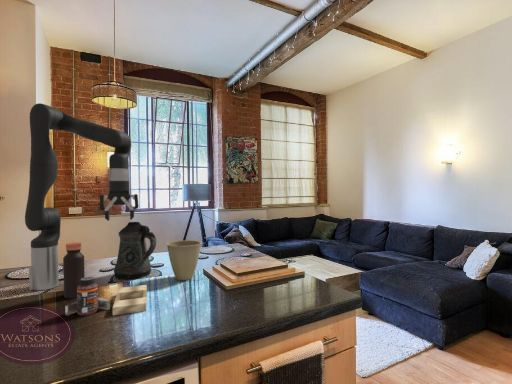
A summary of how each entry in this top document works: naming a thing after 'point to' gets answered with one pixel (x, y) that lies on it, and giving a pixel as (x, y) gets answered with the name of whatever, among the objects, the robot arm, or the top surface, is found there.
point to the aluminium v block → (101, 304)
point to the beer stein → (134, 252)
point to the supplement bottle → (87, 296)
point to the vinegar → (72, 269)
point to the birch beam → (130, 300)
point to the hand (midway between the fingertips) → (119, 219)
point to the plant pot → (184, 258)
